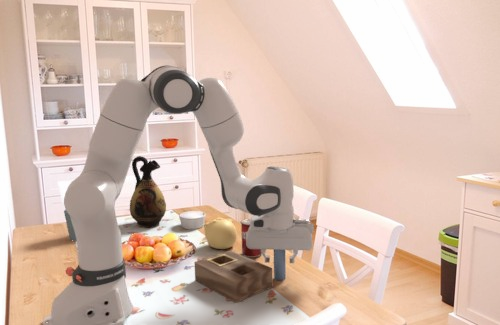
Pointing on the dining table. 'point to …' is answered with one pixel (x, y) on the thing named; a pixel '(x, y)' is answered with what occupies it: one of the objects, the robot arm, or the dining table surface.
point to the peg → (279, 265)
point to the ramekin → (192, 219)
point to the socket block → (233, 275)
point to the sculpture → (220, 233)
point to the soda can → (245, 249)
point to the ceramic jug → (146, 196)
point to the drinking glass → (70, 226)
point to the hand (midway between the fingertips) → (279, 262)
